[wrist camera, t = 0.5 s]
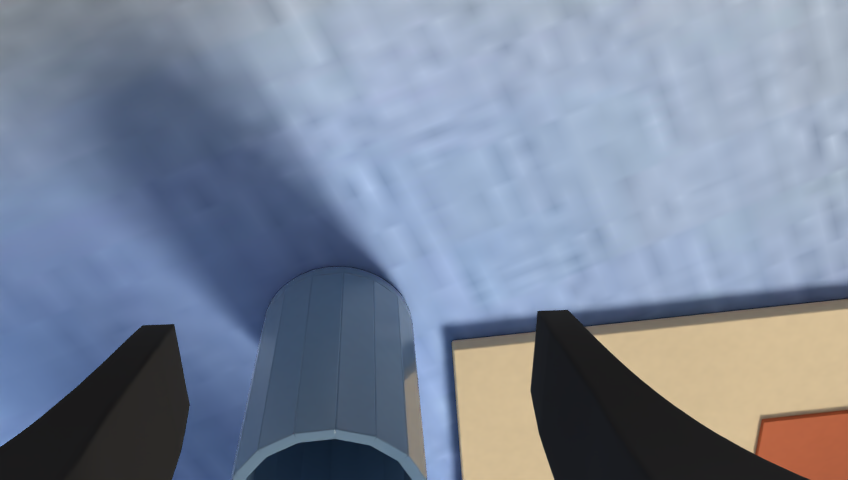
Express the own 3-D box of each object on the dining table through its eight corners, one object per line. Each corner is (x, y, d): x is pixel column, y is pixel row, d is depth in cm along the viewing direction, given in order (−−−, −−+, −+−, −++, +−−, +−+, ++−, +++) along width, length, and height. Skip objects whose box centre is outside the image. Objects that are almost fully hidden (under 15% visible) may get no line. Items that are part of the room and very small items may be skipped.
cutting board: (908, 507, 34) (920, 522, 33) (467, 556, 33) (470, 572, 33) (984, 283, 28) (1000, 295, 27) (451, 340, 27) (453, 353, 27)
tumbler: (418, 378, 28) (435, 560, 21) (278, 393, 28) (249, 581, 21) (405, 258, 26) (420, 419, 19) (251, 274, 26) (208, 442, 19)
